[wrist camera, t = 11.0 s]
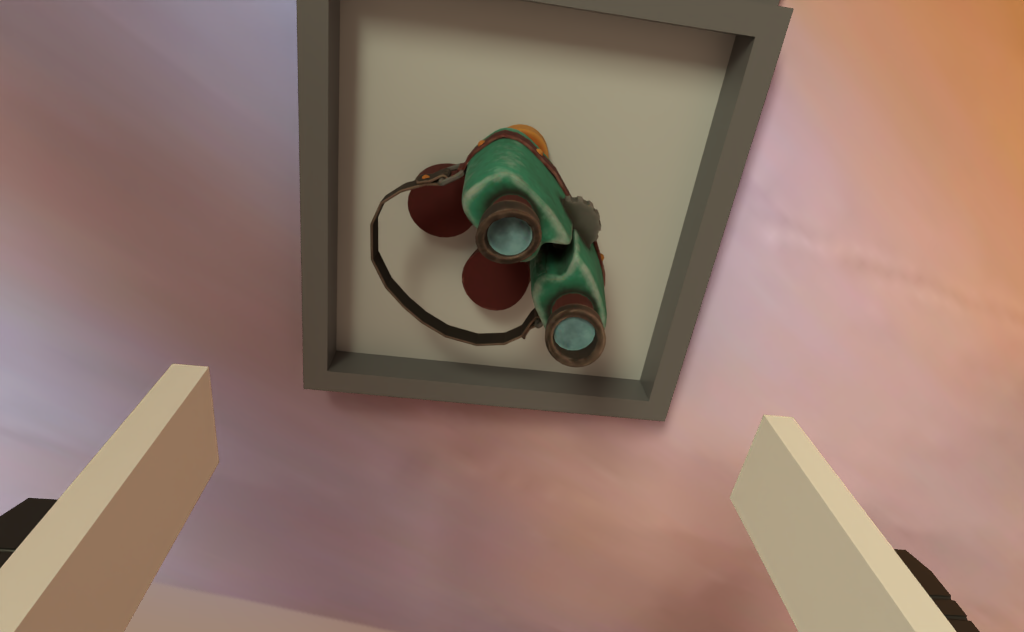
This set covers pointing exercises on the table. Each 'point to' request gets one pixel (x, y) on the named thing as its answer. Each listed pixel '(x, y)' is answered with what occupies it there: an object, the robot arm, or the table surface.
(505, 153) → the binoculars
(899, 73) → the table surface
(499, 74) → the case
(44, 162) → the table surface
